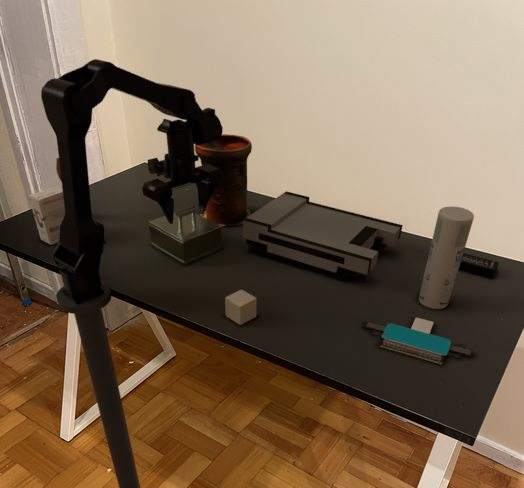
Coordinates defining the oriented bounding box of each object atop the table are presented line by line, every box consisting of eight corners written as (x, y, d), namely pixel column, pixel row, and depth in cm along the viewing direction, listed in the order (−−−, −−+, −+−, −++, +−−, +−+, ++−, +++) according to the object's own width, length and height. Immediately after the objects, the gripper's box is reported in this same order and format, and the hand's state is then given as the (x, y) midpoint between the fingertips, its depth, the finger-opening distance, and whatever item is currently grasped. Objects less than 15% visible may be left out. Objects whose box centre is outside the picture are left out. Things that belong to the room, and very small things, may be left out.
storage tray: (221, 249, 128) (220, 228, 125) (184, 265, 122) (182, 243, 118) (187, 231, 135) (186, 210, 132) (151, 245, 129) (148, 224, 126)
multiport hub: (436, 254, 128) (438, 245, 126) (496, 270, 122) (499, 262, 121) (430, 261, 125) (432, 252, 123) (491, 279, 119) (494, 270, 118)
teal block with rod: (475, 336, 102) (477, 329, 101) (465, 372, 94) (467, 365, 93) (376, 309, 109) (377, 303, 108) (358, 341, 100) (359, 334, 99)
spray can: (444, 312, 108) (470, 223, 96) (414, 304, 111) (435, 215, 98) (452, 298, 113) (477, 210, 100) (422, 289, 115) (443, 203, 102)
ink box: (69, 228, 136) (59, 184, 128) (80, 234, 133) (70, 189, 126) (39, 239, 131) (27, 194, 123) (50, 245, 128) (38, 200, 121)
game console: (364, 289, 115) (370, 256, 110) (243, 251, 128) (243, 220, 122) (397, 251, 129) (403, 220, 124) (284, 220, 141) (286, 191, 136)
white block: (240, 325, 104) (240, 306, 101) (225, 315, 106) (224, 297, 103) (256, 316, 106) (256, 298, 103) (241, 307, 109) (241, 289, 106)
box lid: (222, 228, 124) (221, 209, 121) (183, 243, 118) (182, 224, 115) (186, 210, 132) (184, 192, 129) (148, 223, 126) (146, 204, 123)
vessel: (216, 201, 150) (213, 129, 138) (260, 211, 146) (261, 137, 133) (189, 221, 140) (183, 145, 128) (236, 232, 136) (234, 154, 123)
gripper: (192, 133, 123) (196, 197, 132) (123, 150, 112) (133, 218, 122) (223, 144, 116) (225, 210, 126) (153, 164, 106) (161, 234, 116)
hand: (186, 217), depth 123 cm, fingers open, 9 cm apart
